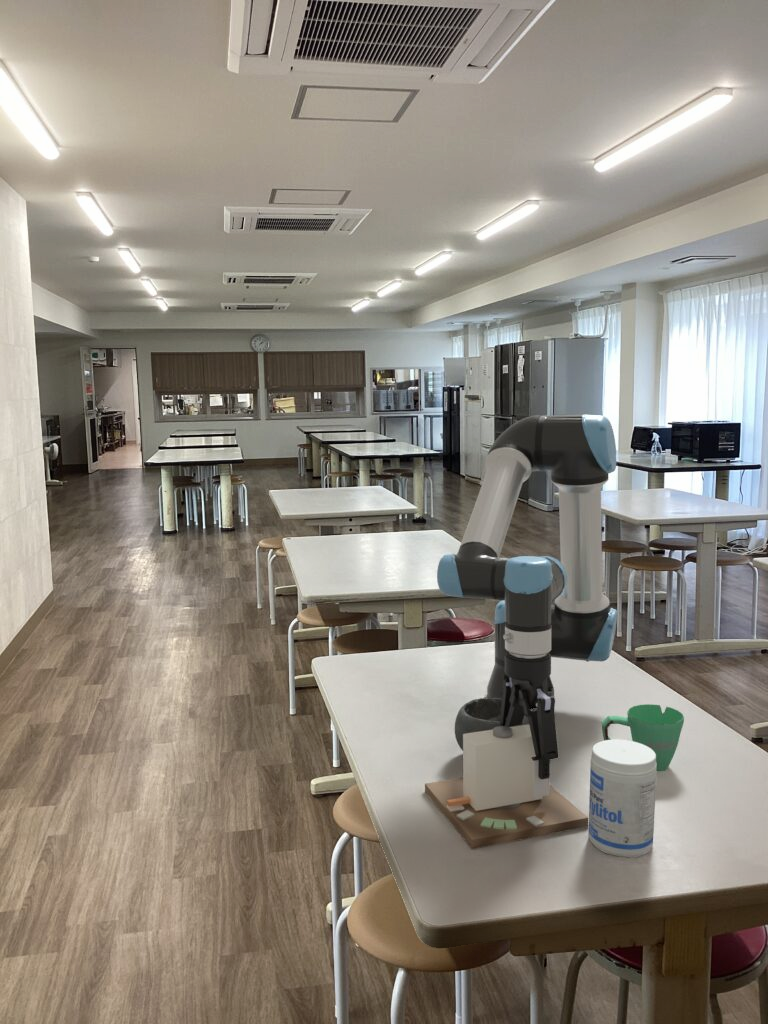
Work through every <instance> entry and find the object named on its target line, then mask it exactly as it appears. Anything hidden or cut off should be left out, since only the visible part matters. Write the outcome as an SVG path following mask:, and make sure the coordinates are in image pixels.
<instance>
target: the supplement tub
mask: <svg viewBox="0 0 768 1024" xmlns="http://www.w3.org/2000/svg"><path fill="white" fill-rule="evenodd" d="M656 766H657V763H656V754H655V752H654V751H653V750H652V749H651V748H649V747H647V746H645V745H643V744H640V743H637V742H633V741H632V740H629V739H617V738H616V739H611V740H605V741H604V740H602V741H599V742H596V743H595V744H594V745H593V746H592V750H591V757H590V768H589V773H590V775H589V797H588V798H589V799H588V800H589V801H588V802H589V805H588V833H587V834H588V839H589V840H590V842H591V844H592V845H593V846H594V847H595V848H597V849H598V850H600V851H602V852H603V853H606V854H608V855H612V856H617V857H621V858H622V857H623V858H637V857H640V856H643V855H645V854H647V853H649V852H650V850H651V849H653V845H654V834H655V833H654V832H655V831H654V830H655V829H654V828H655V809H656V791H657V790H656V789H657V772H656V769H657V768H656Z"/></svg>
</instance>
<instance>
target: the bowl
mask: <svg viewBox="0 0 768 1024" xmlns="http://www.w3.org/2000/svg"><path fill="white" fill-rule="evenodd" d="M501 703H502V699H499V698H487V697H483V698H476V699H471V700H470V701H468V702H466V703H464V704H463V705H462V706H461V707H460V709H459V711H458V712H457V715H456V718H455V722H454V736H455V740H456V743H457V744H458V746H459V748H460V750H461V751H462V752H463V734H466V733H473V732H480V731H486V730H493V728H495V727H498V726H500V712H501ZM506 719H507V717H506ZM526 724H529V720H528V717H526V716H525V715H524V718H523V722H522V725H526Z"/></svg>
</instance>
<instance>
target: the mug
mask: <svg viewBox="0 0 768 1024" xmlns="http://www.w3.org/2000/svg"><path fill="white" fill-rule="evenodd" d="M626 715H627V717H625V716H620V715H607V716H606V717H605V718H604V719H603V721H602V722H601V732H602V736H603V737H602V738H603V741H605V740H612V739H611V738H610V737H609V727H610V726H611V725H616V724H617V725H622V726H626V727H629V728H630V735H631V741H633V742H637V743H640V744H643V745H645V746H647V747H649V748H651V749H652V750H653V751H654V752H655V754H656V763H657V766H656V768H657V769H656V773H657V772H658V773H659V772H665V771H667V770H668V769H669V767H670V764H671V762H672V760H673V758H674V756H675V753H676V750H677V748H678V745H679V742H680V736H681V733H682V730H683V726H684V722H685V717H684V713H682V712H681V711H679V710H678V709H676V708H674V707H670V706H669V707H668V706H666V707H665V709H664V712H662V707H661V705H659V704H652V703H651V704H650V703H647V704H638V705H634V706H631V707H629V708H628V710H627V714H626Z"/></svg>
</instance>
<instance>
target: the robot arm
mask: <svg viewBox="0 0 768 1024" xmlns="http://www.w3.org/2000/svg"><path fill="white" fill-rule="evenodd" d="M614 433H615V432H614V429H613V426H612V423H611V422H610V420H609V418H608V417H606V416H604V415H599V414H596V415H595V414H587V413H585V414H583V413H582V414H556V415H555V414H553V415H550V414H549V415H541V414H540V415H538V414H536V415H531V416H526V417H524V418H522V419H519V420H517V421H515V423H513V424H510V426H509V427H508V428H506V429H505V430H504V431H502V433H501V434H500V435H499V436H498V437H497V438H496V439H495V441H494V442H493V443H492V445H491V446H490V448H489V450H488V453H487V456H486V458H485V461H484V465H485V469H486V473H485V476H484V478H483V481H482V483H481V487H480V489H479V492H478V496H477V498H476V500H475V504H474V507H473V509H472V512H471V514H470V517H469V520H468V524H467V526H466V529H465V531H464V534H463V537H462V540H461V543H460V545H459V549H458V551H457V553H456V554H455V553H451V554H445V555H443V557H441V558H440V560H439V561H438V565H437V570H436V581H437V586H438V588H439V591H440V593H441V594H443V595H445V596H449V597H450V596H451V597H455V598H461V599H467V598H469V599H482V600H496V601H498V603H497V604H496V606H495V609H494V611H495V612H494V619H493V624H494V665H493V668H492V670H491V675H490V676H489V681H488V684H487V686H486V698H499V699H502V703H501V712H500V726H506V727H513V726H520V725H522V722H523V718H524V715H525V716H526V717H528V720H529V725H530V730H531V735H532V740H533V745H534V750H535V755H536V757H532V760H533V765H532V796H533V797H534V798H535V797H541V796H546V795H550V785H551V783H550V781H551V780H550V777H551V775H550V774H551V773H550V772H551V760H555V759H556V760H557V759H558V758H559V747H558V735H557V728H556V727H557V726H556V716H555V715H556V714H555V706H556V698H555V687H554V684H553V681H552V679H551V674H552V658H558V659H565V660H567V659H568V660H576V661H584V662H588V663H589V662H602V663H603V662H605V661H606V660H608V659H609V658H610V656H611V653H612V649H613V646H614V640H615V636H616V629H617V622H618V610H617V609H614V608H613V607H611V606H610V603H611V602H610V599H609V598H608V597H607V596H606V595H605V594H604V593H603V564H602V563H603V562H602V561H603V560H602V558H603V555H602V554H603V553H602V551H603V549H602V543H603V542H602V539H603V538H602V487H603V486H604V485H605V484H606V483H607V482H608V481H609V474H611V473H613V472H615V471H616V468H617V446H616V445H617V444H616V438H615V434H614ZM533 472H549V473H550V481H551V483H552V484H553V485H555V487H557V489H558V501H559V502H558V507H559V510H558V511H559V513H558V515H559V543H560V544H559V545H560V546H559V547H560V548H559V549H560V552H559V553H560V561H559V559H557V558H556V557H553V556H549V555H543V556H535V555H528V556H527V555H523V556H521V555H520V556H515V557H500V555H501V552H502V550H503V547H504V543H505V539H506V536H507V533H508V530H509V527H510V525H511V520H512V518H513V514H514V513H515V512H514V510H515V508H516V504H517V502H518V499H519V495H520V492H521V489H522V486H523V483H524V482H525V481H527V480H528V479H529V478H530V476H531V474H532V473H533ZM553 602H554V604H553ZM506 717H507V719H506Z"/></svg>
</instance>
